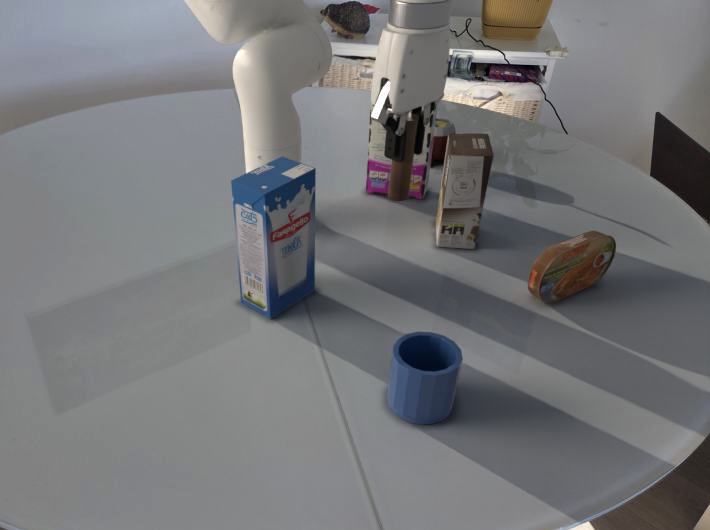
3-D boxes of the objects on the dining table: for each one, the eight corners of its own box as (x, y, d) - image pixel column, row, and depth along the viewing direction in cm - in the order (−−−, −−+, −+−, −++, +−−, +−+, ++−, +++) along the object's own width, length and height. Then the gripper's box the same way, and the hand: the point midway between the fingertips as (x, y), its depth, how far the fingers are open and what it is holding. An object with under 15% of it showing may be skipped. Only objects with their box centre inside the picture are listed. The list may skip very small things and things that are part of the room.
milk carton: (285, 275, 102) (282, 156, 89) (314, 290, 98) (316, 167, 86) (240, 303, 97) (230, 180, 84) (269, 319, 93) (263, 194, 80)
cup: (374, 399, 80) (378, 350, 74) (416, 371, 83) (423, 323, 78) (422, 434, 75) (430, 385, 70) (465, 404, 78) (476, 354, 73)
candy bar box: (428, 189, 122) (439, 102, 112) (423, 200, 119) (434, 112, 108) (370, 182, 126) (376, 97, 115) (364, 193, 122) (369, 107, 112)
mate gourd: (456, 157, 132) (468, 83, 123) (443, 172, 127) (454, 96, 118) (421, 151, 136) (430, 78, 126) (407, 165, 131) (415, 91, 121)
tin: (534, 311, 91) (548, 261, 86) (518, 300, 94) (530, 250, 88) (608, 279, 96) (626, 230, 91) (590, 270, 98) (607, 221, 93)
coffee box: (476, 249, 105) (494, 156, 94) (435, 247, 106) (449, 154, 96) (472, 222, 111) (489, 132, 101) (434, 220, 113) (448, 131, 102)
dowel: (383, 196, 95) (391, 116, 87) (397, 190, 96) (406, 111, 88) (398, 203, 93) (408, 122, 85) (412, 197, 94) (423, 116, 87)
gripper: (439, -3, 84) (421, 132, 96) (349, 20, 77) (342, 164, 89) (486, 6, 80) (461, 147, 92) (395, 32, 73) (381, 181, 84)
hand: (402, 154), depth 90 cm, fingers closed on dowel, 3 cm apart
